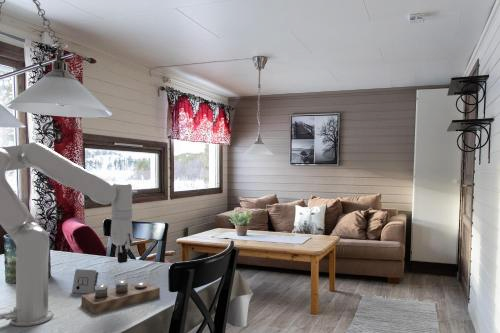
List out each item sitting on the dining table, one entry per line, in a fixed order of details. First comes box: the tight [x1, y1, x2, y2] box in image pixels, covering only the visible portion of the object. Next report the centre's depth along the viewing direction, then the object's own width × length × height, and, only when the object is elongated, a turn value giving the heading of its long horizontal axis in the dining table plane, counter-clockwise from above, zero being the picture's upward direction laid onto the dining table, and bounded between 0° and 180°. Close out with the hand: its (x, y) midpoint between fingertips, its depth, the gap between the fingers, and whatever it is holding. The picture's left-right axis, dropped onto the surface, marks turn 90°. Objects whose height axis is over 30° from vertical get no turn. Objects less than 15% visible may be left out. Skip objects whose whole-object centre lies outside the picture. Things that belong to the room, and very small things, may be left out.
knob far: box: [134, 281, 147, 289], centre depth 154 cm, size 4×4×4 cm
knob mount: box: [80, 281, 161, 315], centre depth 149 cm, size 26×12×4 cm, turn 134°
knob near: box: [94, 283, 109, 299], centre depth 143 cm, size 4×4×4 cm
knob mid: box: [115, 279, 129, 294], centre depth 149 cm, size 4×4×4 cm
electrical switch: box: [71, 268, 99, 294], centre depth 160 cm, size 9×5×9 cm, turn 78°
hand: (122, 262), depth 149 cm, fingers closed
